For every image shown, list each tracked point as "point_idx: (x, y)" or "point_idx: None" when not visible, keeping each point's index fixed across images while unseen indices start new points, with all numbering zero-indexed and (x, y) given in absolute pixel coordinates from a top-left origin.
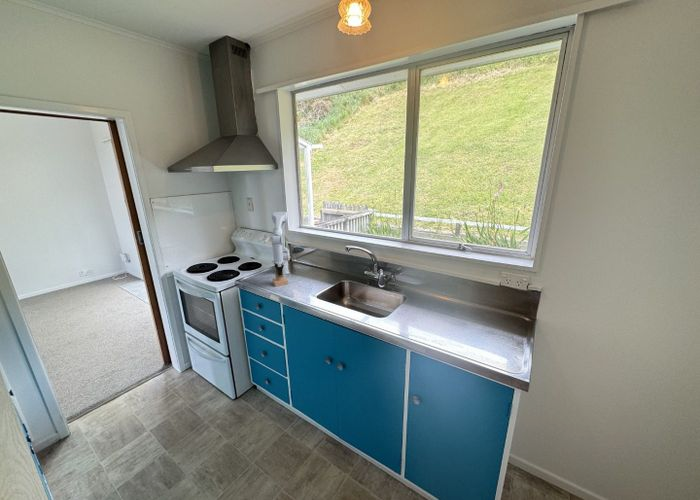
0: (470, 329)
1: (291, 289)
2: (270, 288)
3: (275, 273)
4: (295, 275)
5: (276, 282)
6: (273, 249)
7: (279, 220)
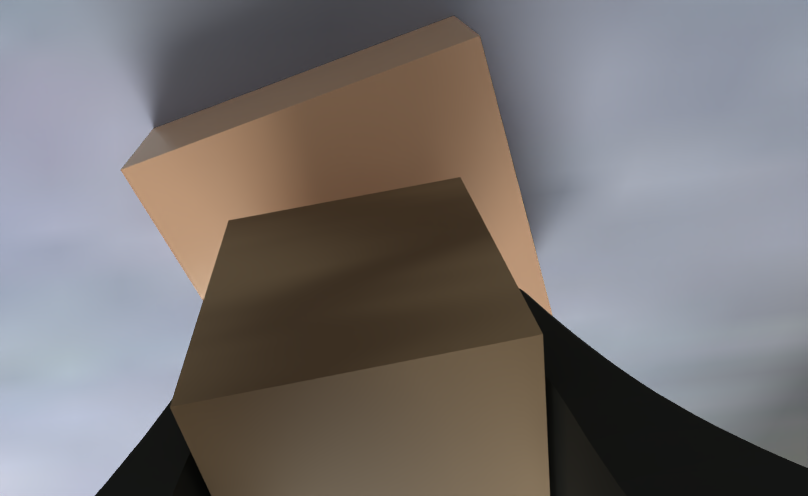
0: None
1: (20, 436)
2: (25, 3)
3: (265, 298)
4: (730, 415)
5: (141, 199)
6: None
7: None
